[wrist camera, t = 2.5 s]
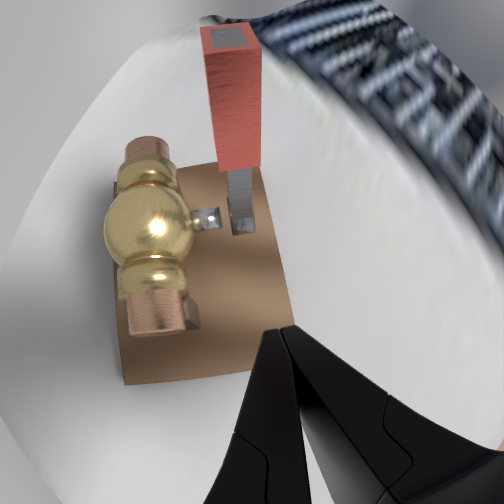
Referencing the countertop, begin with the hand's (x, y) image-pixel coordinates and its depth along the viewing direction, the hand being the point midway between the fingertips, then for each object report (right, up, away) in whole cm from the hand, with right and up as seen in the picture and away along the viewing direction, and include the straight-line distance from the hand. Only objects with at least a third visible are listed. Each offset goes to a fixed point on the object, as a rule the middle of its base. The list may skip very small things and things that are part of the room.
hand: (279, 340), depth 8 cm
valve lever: (-1, +4, +10) cm, 11 cm away
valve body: (-6, +2, +14) cm, 15 cm away
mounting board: (-5, +1, +15) cm, 16 cm away
